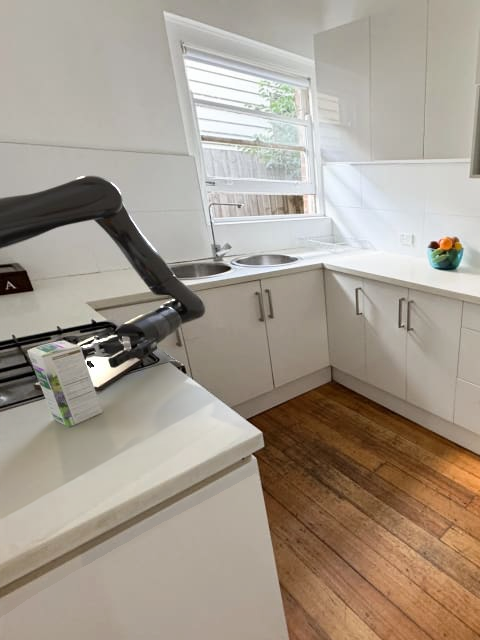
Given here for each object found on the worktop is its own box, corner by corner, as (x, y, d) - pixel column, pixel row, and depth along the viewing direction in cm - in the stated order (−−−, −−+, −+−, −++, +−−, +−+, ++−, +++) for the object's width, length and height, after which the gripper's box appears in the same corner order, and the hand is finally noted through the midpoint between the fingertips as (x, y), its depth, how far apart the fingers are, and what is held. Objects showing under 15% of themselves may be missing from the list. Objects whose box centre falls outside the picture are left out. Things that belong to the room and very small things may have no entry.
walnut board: (34, 388, 81) (33, 384, 81) (87, 359, 94) (86, 356, 94) (99, 391, 81) (98, 387, 81) (143, 361, 94) (142, 358, 94)
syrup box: (52, 419, 72) (23, 350, 66) (88, 404, 77) (64, 338, 71) (69, 428, 69) (40, 357, 64) (104, 412, 74) (81, 344, 69)
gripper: (109, 316, 88) (46, 344, 74) (170, 318, 88) (120, 346, 74) (118, 345, 91) (60, 378, 77) (177, 347, 91) (130, 380, 77)
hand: (89, 362), depth 75 cm, fingers open, 8 cm apart
